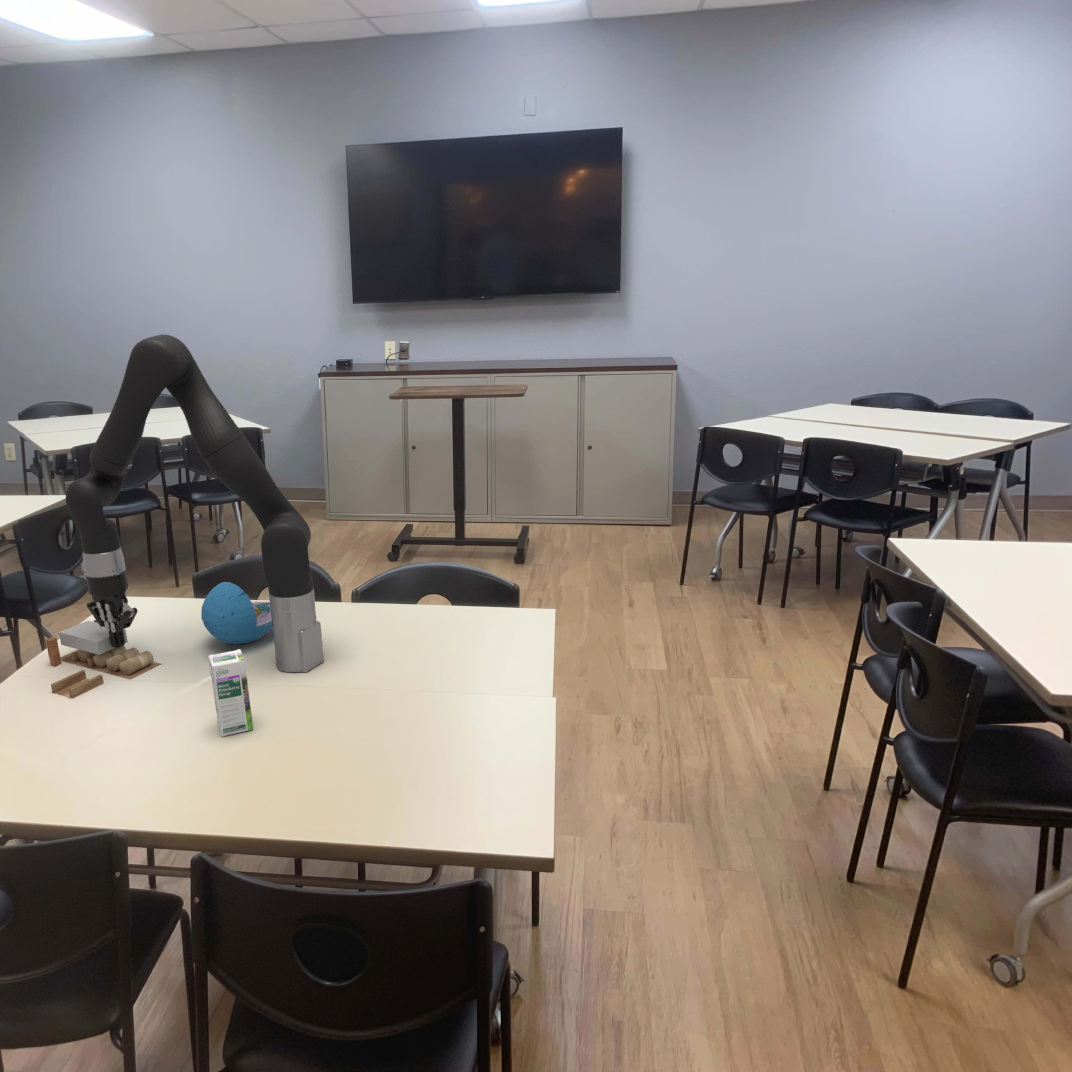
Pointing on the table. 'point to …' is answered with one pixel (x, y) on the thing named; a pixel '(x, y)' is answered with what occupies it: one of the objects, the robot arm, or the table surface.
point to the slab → (88, 638)
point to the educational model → (235, 615)
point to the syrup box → (231, 692)
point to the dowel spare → (84, 655)
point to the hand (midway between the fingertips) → (118, 646)
